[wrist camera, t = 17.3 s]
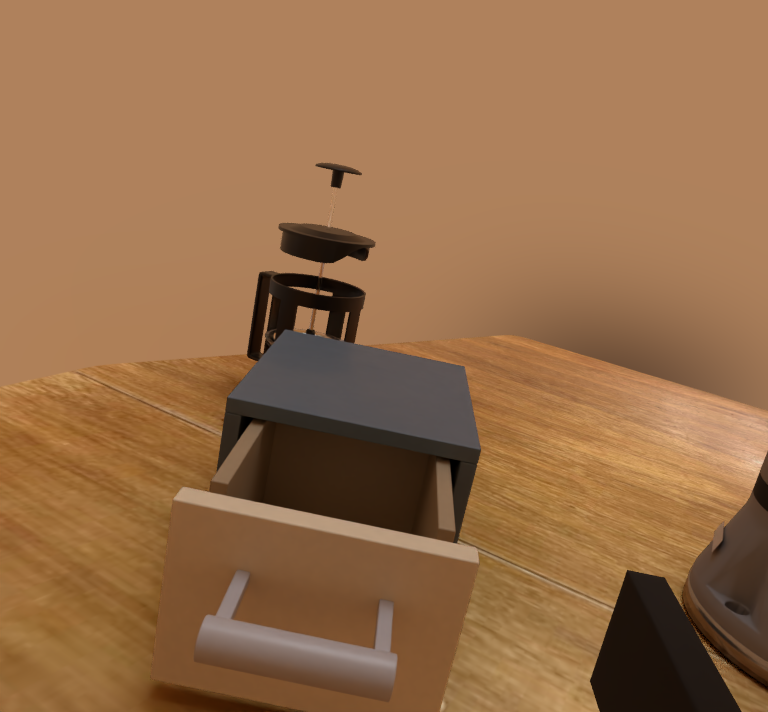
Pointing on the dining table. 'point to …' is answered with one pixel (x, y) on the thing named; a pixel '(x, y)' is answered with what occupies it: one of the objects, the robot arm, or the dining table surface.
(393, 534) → the drawer
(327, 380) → the cabinet
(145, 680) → the dining table surface
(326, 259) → the french press
